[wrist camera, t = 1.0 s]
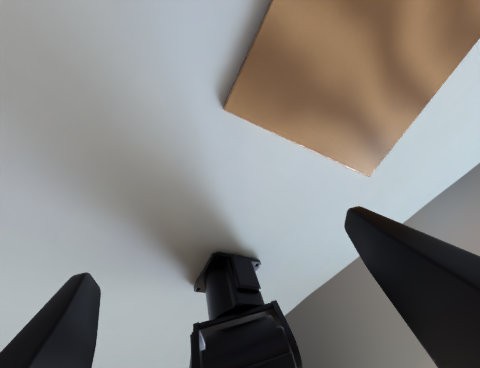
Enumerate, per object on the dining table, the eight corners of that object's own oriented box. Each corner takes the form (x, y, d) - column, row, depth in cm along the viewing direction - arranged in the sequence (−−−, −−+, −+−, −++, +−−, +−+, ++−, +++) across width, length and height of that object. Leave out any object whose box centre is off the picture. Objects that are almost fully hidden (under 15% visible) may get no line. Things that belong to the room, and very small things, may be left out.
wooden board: (366, 175, 26) (369, 177, 26) (222, 108, 19) (223, 109, 18) (530, -32, 19) (536, -33, 18) (397, -281, 11) (403, -290, 11)
